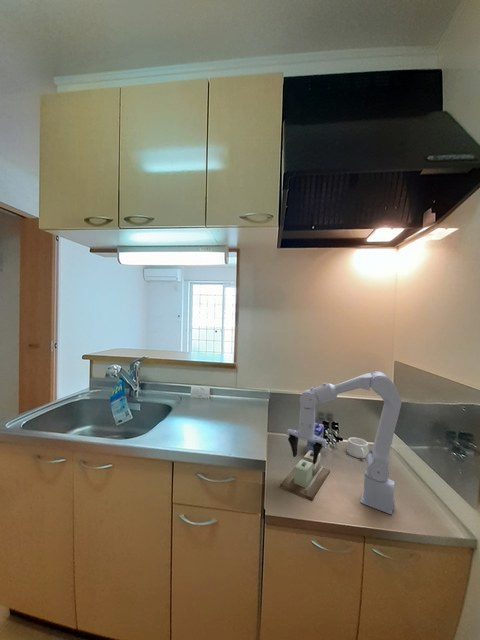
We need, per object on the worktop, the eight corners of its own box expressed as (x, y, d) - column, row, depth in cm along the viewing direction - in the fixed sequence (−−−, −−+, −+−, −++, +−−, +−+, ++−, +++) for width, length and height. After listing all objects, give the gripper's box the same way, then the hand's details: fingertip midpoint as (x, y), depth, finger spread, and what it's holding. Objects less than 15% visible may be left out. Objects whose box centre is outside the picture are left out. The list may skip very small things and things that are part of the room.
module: (312, 478, 105) (313, 461, 105) (305, 487, 99) (306, 469, 99) (300, 474, 107) (301, 457, 107) (293, 483, 101) (294, 465, 101)
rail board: (329, 472, 112) (331, 453, 112) (312, 500, 93) (313, 477, 93) (301, 462, 118) (302, 444, 118) (279, 486, 100) (281, 465, 100)
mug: (343, 448, 135) (344, 436, 135) (363, 450, 134) (364, 437, 134) (351, 460, 123) (352, 447, 123) (374, 462, 122) (375, 449, 122)
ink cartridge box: (318, 458, 123) (320, 426, 123) (306, 454, 125) (308, 423, 125) (322, 449, 132) (324, 419, 131) (311, 446, 134) (313, 416, 134)
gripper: (284, 421, 103) (282, 457, 103) (323, 431, 95) (320, 470, 96) (291, 416, 109) (289, 450, 109) (328, 425, 101) (326, 462, 101)
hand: (304, 459), depth 103 cm, fingers open, 7 cm apart
